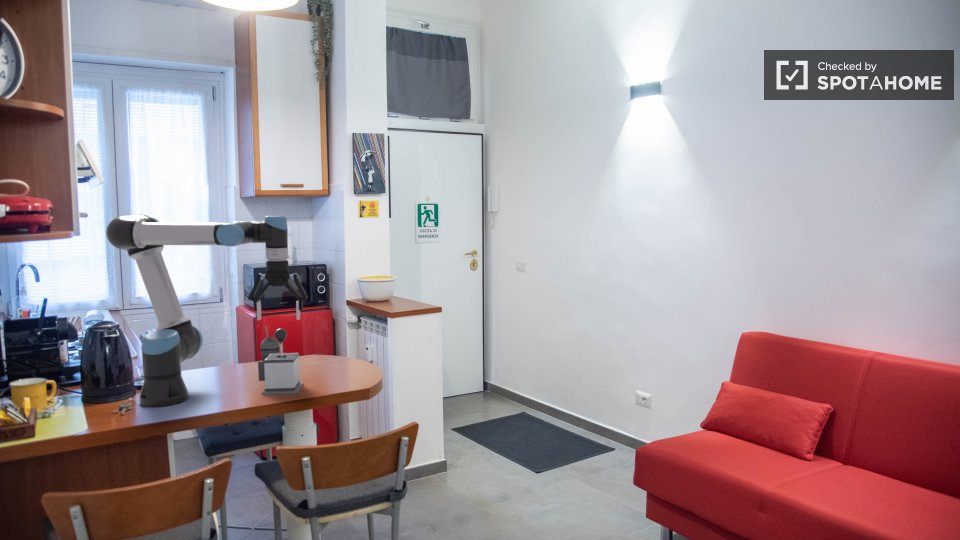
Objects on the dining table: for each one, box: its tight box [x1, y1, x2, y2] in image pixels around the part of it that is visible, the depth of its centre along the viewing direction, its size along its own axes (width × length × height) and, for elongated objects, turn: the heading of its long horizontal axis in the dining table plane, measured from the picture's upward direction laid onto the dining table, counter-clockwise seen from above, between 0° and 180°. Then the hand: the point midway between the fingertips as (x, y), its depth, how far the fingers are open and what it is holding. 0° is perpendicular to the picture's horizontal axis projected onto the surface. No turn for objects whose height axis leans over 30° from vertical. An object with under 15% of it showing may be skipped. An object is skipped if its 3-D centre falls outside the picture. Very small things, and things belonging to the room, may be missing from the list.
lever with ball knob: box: [273, 327, 288, 358], centre depth 244 cm, size 8×8×20 cm
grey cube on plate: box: [257, 352, 304, 396], centre depth 245 cm, size 14×12×12 cm
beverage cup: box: [259, 325, 280, 361], centre depth 261 cm, size 7×7×20 cm
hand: (278, 319), depth 243 cm, fingers open, 13 cm apart
